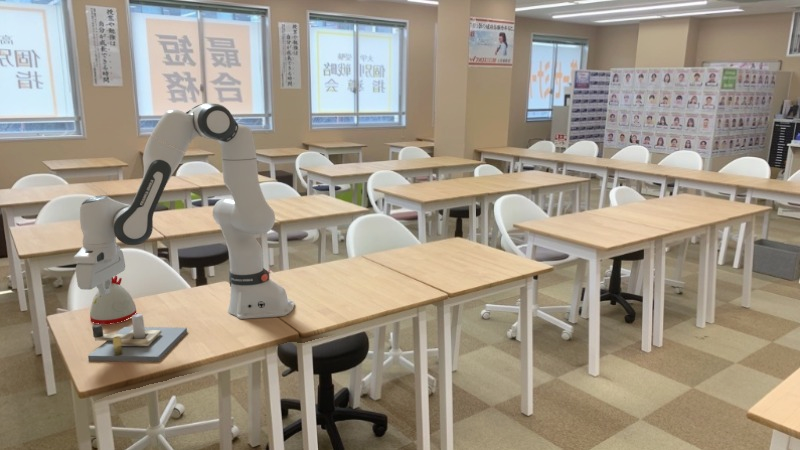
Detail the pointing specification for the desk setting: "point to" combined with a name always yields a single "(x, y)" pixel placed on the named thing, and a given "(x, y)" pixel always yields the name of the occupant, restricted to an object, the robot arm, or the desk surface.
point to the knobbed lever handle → (126, 337)
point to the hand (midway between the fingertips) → (105, 294)
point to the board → (140, 352)
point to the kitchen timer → (112, 305)
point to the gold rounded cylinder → (117, 345)
